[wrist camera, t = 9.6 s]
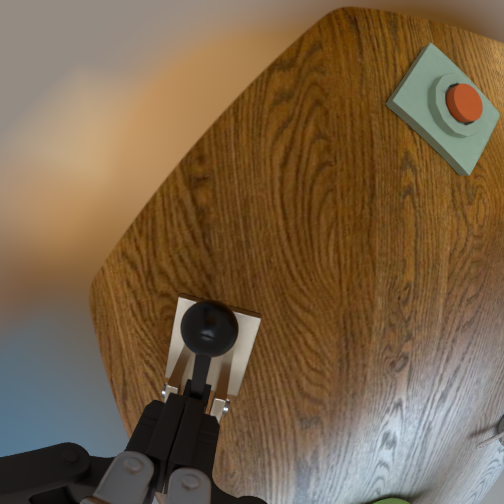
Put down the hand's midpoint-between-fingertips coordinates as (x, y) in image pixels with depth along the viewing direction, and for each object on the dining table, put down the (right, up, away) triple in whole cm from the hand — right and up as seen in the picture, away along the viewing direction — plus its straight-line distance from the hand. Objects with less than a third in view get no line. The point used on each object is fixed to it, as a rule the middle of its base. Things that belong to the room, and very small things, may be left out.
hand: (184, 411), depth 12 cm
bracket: (-2, -4, +24) cm, 25 cm away
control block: (+25, +23, +17) cm, 38 cm away
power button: (+24, +22, +14) cm, 35 cm away
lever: (-1, -1, +12) cm, 12 cm away
